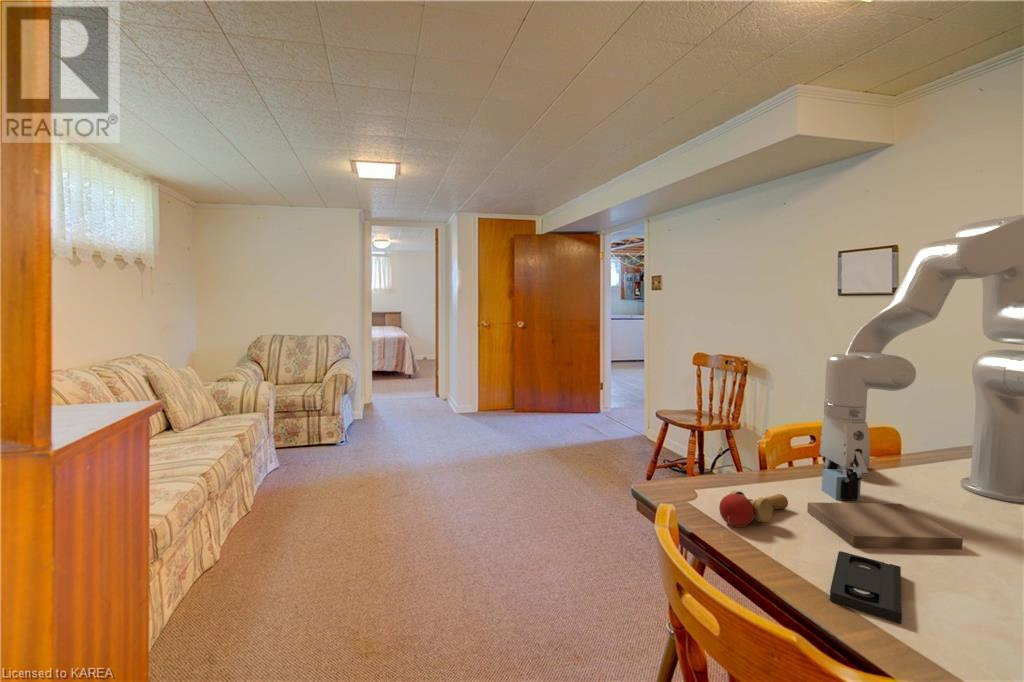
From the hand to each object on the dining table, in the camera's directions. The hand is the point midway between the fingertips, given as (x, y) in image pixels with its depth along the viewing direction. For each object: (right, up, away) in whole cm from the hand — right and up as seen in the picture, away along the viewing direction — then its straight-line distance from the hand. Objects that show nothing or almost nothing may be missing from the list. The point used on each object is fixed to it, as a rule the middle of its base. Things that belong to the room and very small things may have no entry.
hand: (840, 493), depth 105 cm
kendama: (-24, -2, -10) cm, 26 cm away
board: (-4, -2, -16) cm, 16 cm away
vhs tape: (-20, -4, -34) cm, 39 cm away
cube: (0, -1, 0) cm, 1 cm away
